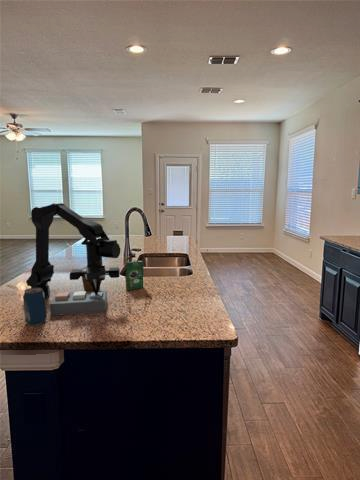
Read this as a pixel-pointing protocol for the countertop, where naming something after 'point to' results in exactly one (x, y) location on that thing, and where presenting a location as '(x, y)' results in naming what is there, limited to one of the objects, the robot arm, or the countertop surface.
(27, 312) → the soda can
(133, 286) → the coffee box
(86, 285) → the disposable coffee cup
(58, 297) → the rust key
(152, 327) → the countertop surface
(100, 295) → the slate key
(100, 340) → the countertop surface
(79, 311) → the key panel
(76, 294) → the pale key
